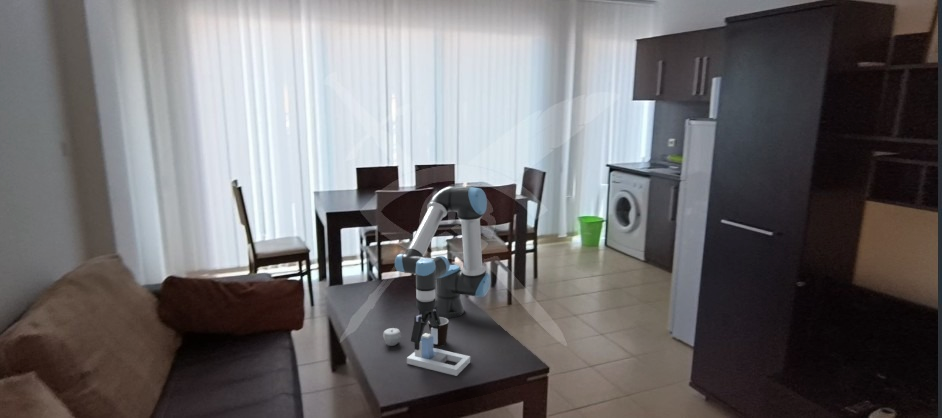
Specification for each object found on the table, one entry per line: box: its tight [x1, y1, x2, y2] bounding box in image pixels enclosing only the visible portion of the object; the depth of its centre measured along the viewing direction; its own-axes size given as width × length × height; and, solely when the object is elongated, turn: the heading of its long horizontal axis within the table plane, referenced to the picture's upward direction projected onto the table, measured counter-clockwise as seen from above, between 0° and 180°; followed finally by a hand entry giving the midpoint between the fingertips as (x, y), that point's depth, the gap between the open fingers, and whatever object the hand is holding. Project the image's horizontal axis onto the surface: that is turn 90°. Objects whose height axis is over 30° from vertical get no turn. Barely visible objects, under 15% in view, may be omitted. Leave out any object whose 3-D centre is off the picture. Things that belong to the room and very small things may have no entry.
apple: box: [382, 327, 402, 347], centre depth 221 cm, size 8×8×7 cm
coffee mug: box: [427, 317, 449, 347], centre depth 224 cm, size 12×9×10 cm
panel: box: [406, 347, 471, 377], centre depth 206 cm, size 12×22×2 cm, turn 65°
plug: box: [420, 332, 434, 360], centre depth 207 cm, size 4×4×11 cm
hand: (426, 349), depth 207 cm, fingers open, 12 cm apart
